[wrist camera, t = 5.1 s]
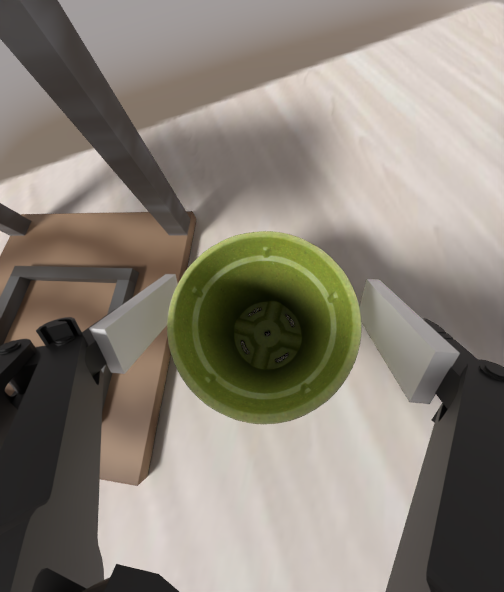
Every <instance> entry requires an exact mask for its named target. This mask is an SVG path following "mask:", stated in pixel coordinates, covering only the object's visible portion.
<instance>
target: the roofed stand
mask: <svg viewBox="0 0 504 592" xmlns="http://www.w3.org/2000/svg"><path fill="white" fill-rule="evenodd" d="M0 39H1V40H2V41H3V42H4V44H5V45H6V46H7V47H8V48H9V49H10V51H11V52H12V53H13V54H14V55H15V56H16V57H17V59H18V60H19V61H20V62H21V63H22V65H23V66H24V67H25V68H26V69H27V70H28V72H29V73H30V74H31V75H32V76H33V77H34V78H35V80H36V81H37V82H38V83H39V84H40V86H41V87H42V88H43V89H44V90H45V91H46V92H47V93H48V95H49V96H50V97H51V98H52V99H53V101H54V102H55V103H56V104H57V105H58V106H59V108H60V109H61V110H62V111H63V112H64V113H65V114H66V116H67V117H68V118H69V119H70V120H71V121H72V123H73V124H74V125H75V126H76V127H77V129H78V130H79V131H80V132H81V133H82V134H83V136H84V137H85V138H86V139H87V140H88V141H89V142H90V144H91V145H92V146H93V147H94V148H95V150H96V151H97V152H98V153H99V154H100V155H101V157H102V158H103V159H104V160H105V161H106V162H107V164H108V165H109V166H110V167H111V168H112V169H113V171H114V172H115V173H116V174H117V175H118V176H119V178H120V179H121V180H122V181H123V182H124V183H125V184H126V186H127V187H128V188H129V189H130V190H131V191H132V193H133V194H134V195H135V196H136V197H137V198H138V200H139V201H140V202H141V203H142V204H143V205H144V207H145V208H146V209H147V210H148V211H149V212H133V213H75V214H21V215H20V214H18V213H16V212H15V211H13V210H11V209H9V208H8V207H6V206H4V205H2V204H1V203H0V231H2V232H4V233H6V234H8V235H10V238H9V240H8V242H7V244H6V246H5V248H4V250H3V252H2V254H1V256H0V346H1V345H2V344H4V343H7V342H8V343H9V342H10V341H13V340H14V341H15V340H19V339H30V340H31V342H32V343H33V345H34V346H35V347H39V346H45V344H44V343H43V341H42V340H41V338H40V337H39V335H38V334H37V332H36V330H37V329H38V328H39V327H40V326H42V325H44V324H46V323H48V322H50V321H53V320H56V319H59V318H65V317H72V318H75V320H76V322H77V324H78V326H79V328H80V330H81V332H83V331H84V330H86V329H87V328H89V327H90V326H92V325H93V324H94V323H96V322H97V321H99V320H100V319H102V318H103V317H104V316H106V315H108V314H109V313H110V312H111V311H113V310H114V309H116V308H118V307H120V306H121V305H123V304H124V303H126V302H127V301H128V300H130V299H131V298H133V297H134V296H136V295H137V294H138V293H140V292H141V291H143V290H144V289H145V288H147V287H148V286H150V285H151V284H152V283H154V282H155V281H157V280H158V279H160V278H161V277H162V276H164V275H165V274H176V278H177V283H179V281H180V279H181V278H182V276H183V274H184V273H185V271H186V270H187V266H188V260H189V255H190V250H191V245H192V239H193V234H194V229H195V224H196V217H195V216H194V214H193V212H192V211H190V212H186V211H185V209H184V207H183V206H182V204H181V203H180V201H179V199H178V198H177V196H176V194H175V193H174V191H173V189H172V188H171V186H170V184H169V183H168V181H167V180H166V178H165V176H164V175H163V173H162V171H161V170H160V168H159V166H158V165H157V163H156V161H155V160H154V158H153V156H152V155H151V153H150V152H149V150H148V148H147V147H146V145H145V143H144V142H143V140H142V138H141V137H140V135H139V133H138V132H137V130H136V129H135V127H134V125H133V124H132V122H131V120H130V119H129V117H128V115H127V114H126V112H125V110H124V109H123V107H122V105H121V104H120V102H119V101H118V99H117V97H116V96H115V94H114V93H113V91H112V89H111V88H110V86H109V84H108V82H107V81H106V79H105V78H104V76H103V74H102V73H101V71H100V69H99V68H98V66H97V64H96V63H95V61H94V59H93V58H92V56H91V54H90V53H89V51H88V50H87V48H86V46H85V45H84V43H83V41H82V40H81V38H80V36H79V35H78V33H77V32H76V30H75V28H74V27H73V25H72V23H71V22H70V20H69V18H68V17H67V15H66V13H65V12H64V10H63V8H62V7H61V5H60V4H59V2H58V1H57V0H0ZM170 355H171V352H170V349H169V344H168V337H167V326H166V327H165V328H164V329H163V330H162V331H161V332H160V334H159V335H158V336H157V337H156V338H155V339H154V341H153V342H152V343H151V344H150V345H149V346H148V347H147V349H146V350H145V351H144V352H143V353H142V354H141V356H140V357H139V358H138V359H137V360H136V361H135V363H134V364H133V365H132V366H131V367H130V368H129V369H128V371H127V372H126V373H125V374H121V373H111V372H110V370H109V368H108V366H107V364H106V365H105V366H104V367H103V368H102V369H101V370H102V372H103V375H104V377H103V403H102V428H101V454H100V479H102V480H107V481H113V482H118V483H124V484H130V485H135V486H138V485H139V484H140V483H141V482H142V481H143V480H144V479H145V478H147V476H148V471H149V466H150V460H151V455H152V450H153V445H154V439H155V434H156V429H157V424H158V418H159V413H160V408H161V403H162V397H163V392H164V387H165V382H166V376H167V371H168V366H169V360H170ZM14 391H15V390H14V389H13V388H12V386H11V385H10V384H9V383H8V384H7V386H6V388H5V392H6V393H7V394H8V395H9V396H11V395H12V394H13V393H14Z"/></svg>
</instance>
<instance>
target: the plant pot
mask: <svg viewBox="0 0 504 592" xmlns="http://www.w3.org/2000/svg"><path fill="white" fill-rule="evenodd" d="M256 308H261V311H258V312H257V313H255V314H253V315H251V316H250V317H249V316H248V314H249V313H250V312H252V311H253V310H254V309H256ZM285 314H286V315H288V316H289V317H291V319H292V320H293V322H294V325H295V327H293V328H292V327H291V325H290V323H289V321H288V319H287V318H286V316H285ZM265 331H270V335H269V336H265ZM167 337H168V344H169V349H170V352H171V355H172V358H173V361H174V363H175V366H176V368H177V370H178V372H179V374H180V376H181V377H182V379H183V380H184V382H185V383H186V385H187V386H188V387H189V389H190V390H191V391H192V392H193V393H194V394H195V395H196V396H197V397H198V398H199V399H200V400H202V401H203V402H204V403H205V404H206V405H208V406H209V407H211V408H212V409H214V410H216V411H217V412H219V413H221V414H223V415H226V416H228V417H230V418H233V419H235V420H238V421H242V422H247V423H253V424H276V423H282V422H287V421H291V420H294V419H297V418H300V417H302V416H304V415H306V414H308V413H310V412H311V411H313V410H315V409H317V408H318V407H319V406H321V405H322V404H324V403H325V402H327V401H328V400H329V399H330V398H331V397H332V396H333V395H334V394H335V393H336V392H337V391H338V390H339V388H340V387H341V386H342V384H343V383H344V381H345V380H346V378H347V377H348V375H349V373H350V371H351V369H352V368H353V365H354V363H355V360H356V357H357V354H358V350H359V345H360V338H361V312H360V307H359V303H358V299H357V296H356V294H355V291H354V289H353V287H352V285H351V283H350V281H349V279H348V277H347V276H346V274H345V273H344V271H343V270H342V269H341V267H340V266H339V265H338V264H337V263H336V262H335V261H334V260H333V259H332V258H331V257H330V256H329V255H328V254H326V253H325V252H324V251H323V250H322V249H320V248H318V247H317V246H315V245H313V244H311V243H310V242H308V241H305V240H304V239H301V238H299V237H296V236H293V235H290V234H285V233H280V232H273V231H262V232H252V233H244V234H240V235H236V236H233V237H230V238H228V239H225V240H223V241H221V242H220V243H218V244H216V245H214V246H212V247H211V248H209V249H208V250H206V251H205V252H204V253H203V254H202V255H201V256H200V257H198V258H197V259H196V260H195V261H194V262H193V263H192V264H191V265H190V266H189V267H188V269H187V270H186V271H185V273H184V274H183V276H182V278H181V279H180V281H179V283H178V285H177V287H176V288H175V291H174V293H173V296H172V299H171V303H170V306H169V311H168V318H167ZM241 340H244V343H245V345H246V348H247V349H248V350H249V352H250V354H246V353H245V352H244V351H243V348H242V346H241ZM287 352H288V353H289V354H288V357H287V358H285V359H284V360H282V361H281V362H275V359H277V358H279V357H281V356H283V355H284V354H285V353H287Z"/></svg>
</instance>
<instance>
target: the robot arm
mask: <svg viewBox="0 0 504 592" xmlns="http://www.w3.org/2000/svg"><path fill="white" fill-rule="evenodd" d="M177 285H178V283H177V278H176V274H165V275H164V276H162V277H161V278H160V279H158V280H157V281H155V282H154V283H152V284H151V285H150V286H148V287H147V288H145V289H144V290H143V291H141V292H140V293H138V294H137V295H136V296H134V297H133V298H131V299H130V300H128V301H127V302H126V303H124V304H123V305H121V306H120V307H118V308H116V309H114V310H113V311H111V312H110V313H109V314H108V315H106V316H104V317H103V318H102V319H100V320H99V321H97V322H96V323H94V324H93V325H92V326H90V327H89V328H87V329H86V330H84V331H83V332H81V330H80V328H79V326H78V324H77V322H76V320H75V318H72V317H65V318H59V319H56V320H53V321H50V322H48V323H46V324H44V325H42V326H40V327H39V328H38V329H37V330H36V332H37V334H38V335H39V337H40V338H41V340H42V341H43V343H44V344H45V346H39V347H35V346H34V345H33V343H32V342H31V340H30V339H19V340H15V341H14V340H13V341H10V342H9V343H8V342H7V343H4V344H2V345H1V346H0V592H179V591H178V590H177V589H176V588H174V587H173V586H172V585H171V584H170V583H169V582H167V581H166V580H165V579H164V578H163V577H162V576H160V575H159V574H156V573H152V572H148V571H144V570H140V569H135V568H131V567H127V566H123V565H119V564H116V566H115V568H114V570H113V573H112V575H111V577H110V578H108V579H105V580H104V569H103V562H102V557H101V553H100V550H99V546H98V537H97V531H98V505H99V480H100V454H101V428H102V403H103V377H104V375H103V372H102V370H101V369H102V368H103V367H104V366H105V365H106V364H107V366H108V368H109V370H110V372H111V373H121V374H125V373H126V372H127V371H128V369H129V368H130V367H131V366H132V365H133V364H134V363H135V361H136V360H137V359H138V358H139V357H140V356H141V354H142V353H143V352H144V351H145V350H146V349H147V347H148V346H149V345H150V344H151V343H152V342H153V341H154V339H155V338H156V337H157V336H158V335H159V334H160V332H161V331H162V330H163V329H164V328H165V327H166V326H167V318H168V311H169V306H170V303H171V299H172V296H173V293H174V291H175V288H176V287H177ZM359 307H360V312H361V322H362V324H363V326H364V327H365V329H366V331H367V332H368V334H369V336H370V337H371V339H372V341H373V342H374V344H375V346H376V347H377V349H378V351H379V352H380V354H381V356H382V357H383V359H384V361H385V362H386V364H387V366H388V367H389V369H390V371H391V372H392V374H393V376H394V377H395V379H396V381H397V382H398V384H399V386H400V387H401V389H402V391H403V392H404V394H405V396H406V397H407V399H408V400H409V402H415V403H425V404H430V403H431V401H432V399H433V398H434V396H435V394H436V395H437V396H438V397H439V399H440V400H441V401H442V405H441V406H440V408H439V409H438V411H437V412H436V414H435V416H434V417H433V419H432V421H433V422H435V424H434V427H433V431H432V434H431V438H430V441H429V444H428V448H427V451H426V455H425V458H424V462H423V465H422V468H421V472H420V475H419V479H418V482H417V486H416V489H415V492H414V496H413V499H412V503H411V506H410V510H409V513H408V516H407V520H406V523H405V527H404V530H403V534H402V537H401V540H400V544H399V547H398V551H397V554H396V558H395V561H394V565H393V568H392V571H391V575H390V578H389V582H388V585H387V589H386V592H504V367H502V366H500V365H498V364H496V363H492V362H489V361H486V360H478V359H477V358H475V357H474V356H473V355H472V354H471V353H470V352H468V351H467V350H466V349H465V348H464V347H463V346H461V345H460V344H459V343H458V342H457V341H456V340H453V338H452V337H451V336H450V335H449V334H446V332H445V331H444V330H443V329H442V328H441V327H439V326H438V325H437V324H435V323H433V322H431V321H429V320H427V319H422V318H421V317H420V316H419V315H418V314H416V313H415V312H414V311H413V310H412V309H411V308H410V307H409V306H408V305H407V304H405V303H404V302H403V301H402V300H401V299H400V298H399V297H398V296H397V295H396V294H395V293H393V292H392V291H391V290H390V289H389V288H388V287H387V286H386V285H385V284H384V283H382V282H381V281H380V280H379V279H366V283H365V287H364V291H363V294H362V298H361V302H360V306H359ZM8 383H9V384H10V385H11V386H12V388H13V389H14V390H15V391H14V393H13V394H12V395H11V396H9V395H8V394H7V393H6V392H5V388H6V386H7V384H8Z"/></svg>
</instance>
